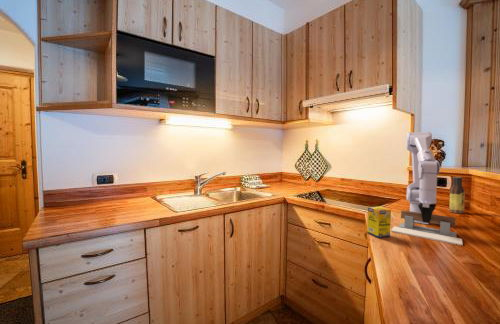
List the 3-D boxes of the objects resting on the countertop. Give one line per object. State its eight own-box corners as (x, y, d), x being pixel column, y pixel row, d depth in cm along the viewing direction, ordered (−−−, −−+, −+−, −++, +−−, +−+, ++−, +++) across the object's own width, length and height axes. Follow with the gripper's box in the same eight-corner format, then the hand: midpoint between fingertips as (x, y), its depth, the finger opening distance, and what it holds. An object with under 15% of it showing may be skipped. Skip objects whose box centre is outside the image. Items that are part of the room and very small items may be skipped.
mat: (394, 227, 102) (394, 226, 102) (461, 240, 87) (461, 238, 87) (391, 231, 96) (391, 230, 96) (462, 245, 82) (462, 244, 82)
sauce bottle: (464, 214, 124) (466, 177, 123) (449, 212, 127) (450, 177, 127) (463, 212, 129) (464, 176, 128) (448, 210, 133) (449, 176, 132)
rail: (402, 216, 105) (402, 210, 104) (455, 225, 93) (455, 217, 93) (400, 218, 102) (401, 211, 102) (455, 226, 90) (455, 219, 90)
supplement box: (378, 238, 89) (379, 210, 88) (366, 233, 94) (367, 206, 94) (390, 237, 90) (391, 209, 90) (378, 232, 96) (379, 206, 96)
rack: (401, 224, 106) (401, 212, 106) (456, 234, 94) (456, 220, 94) (398, 227, 102) (399, 215, 101) (456, 238, 89) (457, 224, 89)
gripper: (418, 186, 105) (417, 216, 106) (414, 190, 94) (412, 223, 95) (437, 188, 100) (436, 219, 101) (436, 192, 90) (434, 227, 90)
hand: (426, 221), depth 97 cm, fingers closed on rail, 3 cm apart
